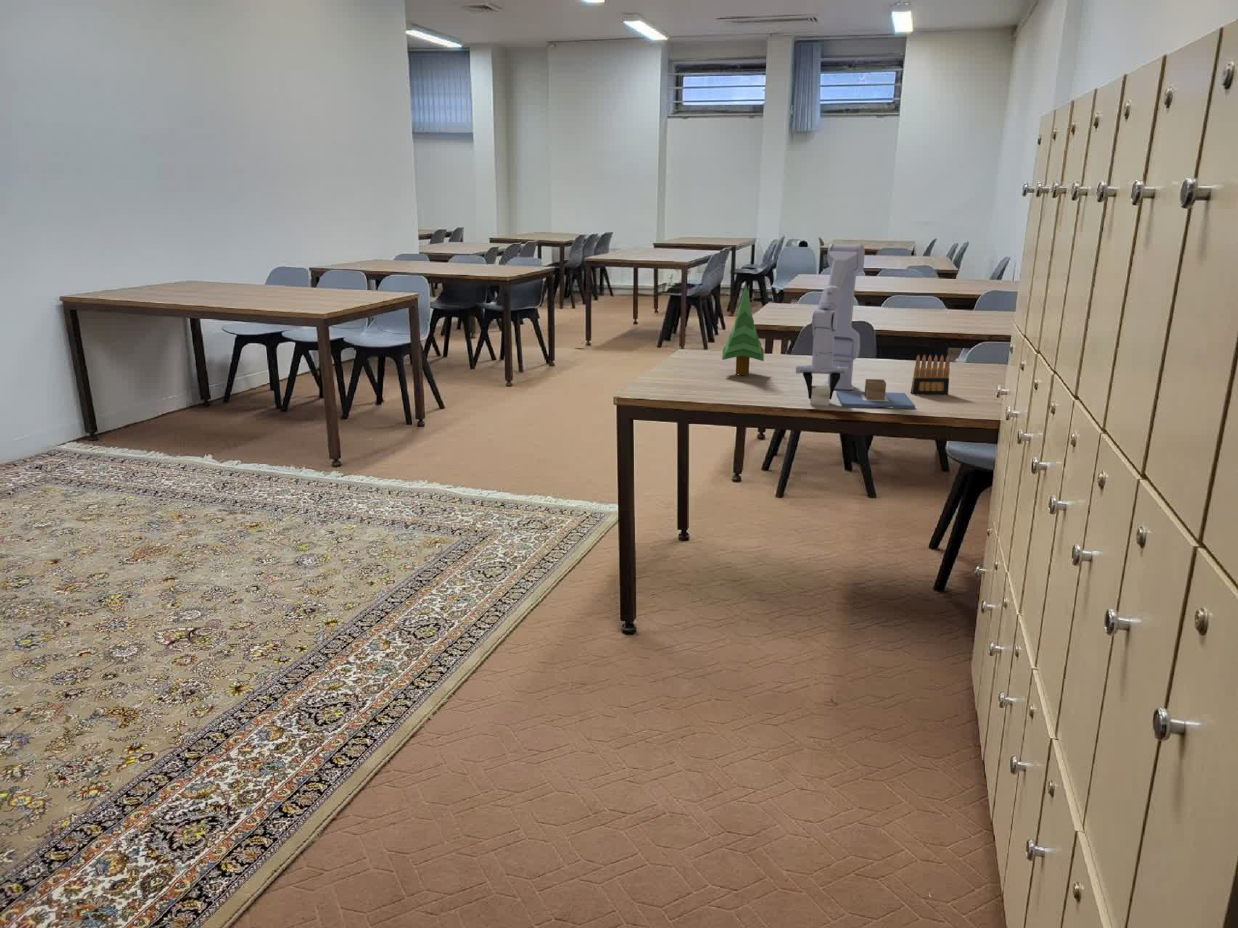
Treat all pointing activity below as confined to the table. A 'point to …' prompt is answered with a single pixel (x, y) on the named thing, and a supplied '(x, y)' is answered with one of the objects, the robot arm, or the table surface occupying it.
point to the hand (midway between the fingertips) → (819, 398)
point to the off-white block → (820, 395)
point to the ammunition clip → (931, 377)
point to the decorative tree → (743, 338)
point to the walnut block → (875, 389)
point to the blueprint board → (860, 400)
